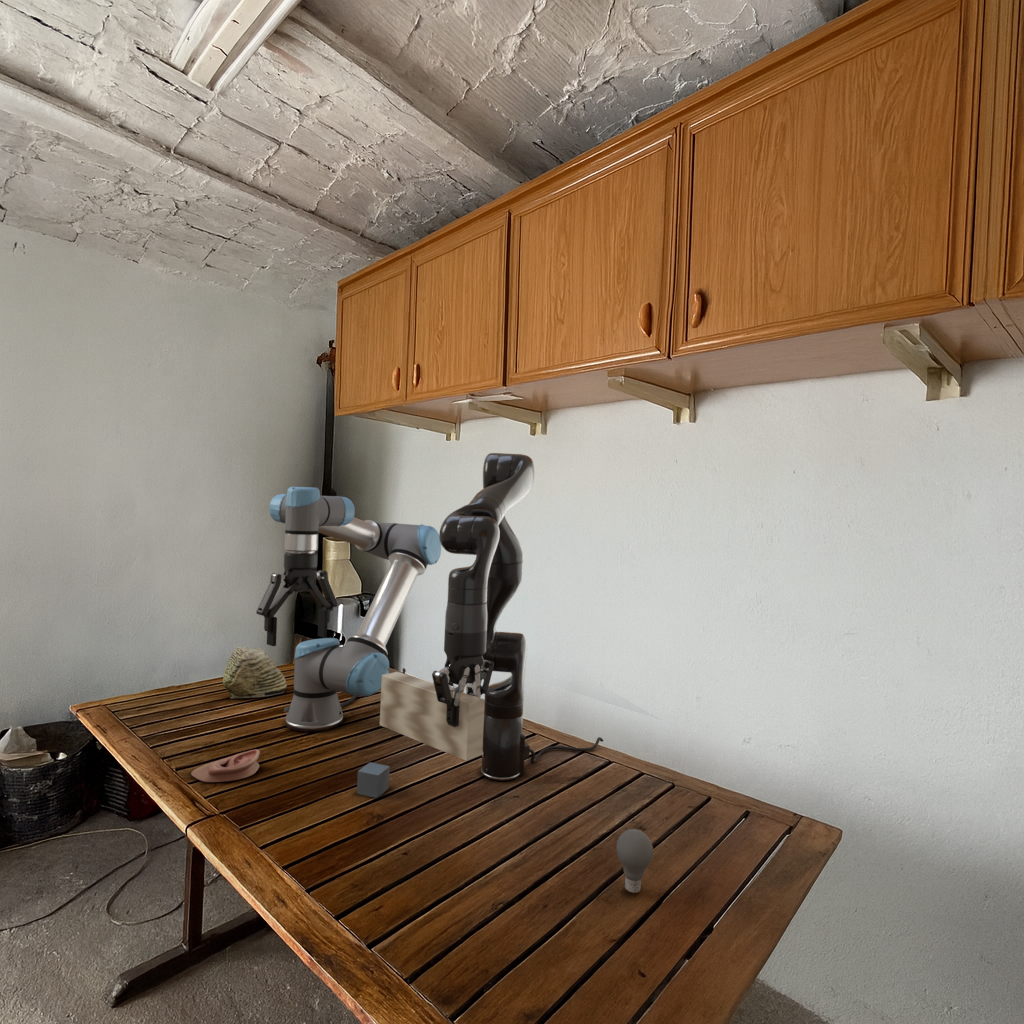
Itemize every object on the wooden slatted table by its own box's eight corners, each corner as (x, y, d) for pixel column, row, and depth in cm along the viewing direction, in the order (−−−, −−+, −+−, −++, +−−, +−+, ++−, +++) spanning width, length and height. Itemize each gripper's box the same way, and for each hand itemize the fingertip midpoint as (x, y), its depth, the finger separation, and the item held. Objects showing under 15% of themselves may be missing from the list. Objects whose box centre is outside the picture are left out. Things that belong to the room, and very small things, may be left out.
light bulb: (610, 879, 108) (613, 822, 108) (644, 879, 109) (647, 822, 109) (619, 902, 102) (622, 840, 102) (655, 901, 103) (658, 840, 103)
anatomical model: (182, 760, 139) (216, 741, 150) (181, 778, 139) (216, 758, 150) (236, 768, 136) (267, 748, 147) (235, 786, 136) (266, 765, 147)
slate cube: (369, 784, 140) (370, 762, 140) (389, 788, 139) (389, 766, 139) (356, 794, 136) (357, 770, 136) (377, 798, 134) (378, 775, 134)
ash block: (379, 725, 125) (381, 675, 125) (395, 720, 128) (397, 671, 128) (466, 761, 110) (469, 704, 110) (482, 755, 113) (484, 699, 113)
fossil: (218, 695, 195) (220, 647, 195) (278, 685, 208) (279, 640, 207) (228, 703, 189) (230, 653, 188) (289, 692, 201) (290, 645, 201)
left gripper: (335, 548, 162) (332, 631, 163) (242, 552, 143) (239, 645, 143) (353, 551, 158) (350, 636, 158) (260, 555, 138) (256, 652, 139)
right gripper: (478, 619, 121) (474, 708, 121) (421, 628, 110) (417, 726, 110) (507, 625, 116) (503, 718, 116) (452, 635, 105) (448, 738, 105)
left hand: (297, 640), depth 151 cm, fingers open, 13 cm apart
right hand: (462, 721), depth 113 cm, fingers closed on ash block, 4 cm apart
